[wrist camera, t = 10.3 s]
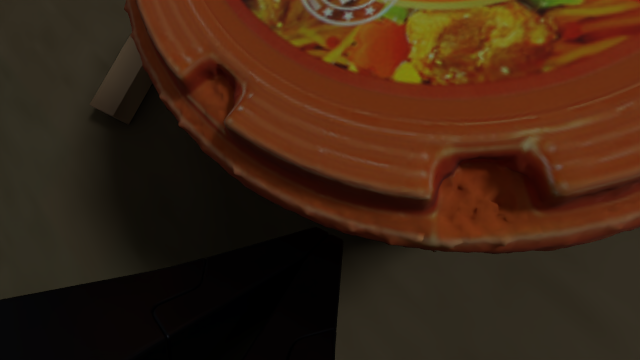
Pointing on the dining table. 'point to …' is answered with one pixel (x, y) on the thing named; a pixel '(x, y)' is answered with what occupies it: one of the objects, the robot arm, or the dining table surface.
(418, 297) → the dining table surface
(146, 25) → the food container
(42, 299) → the robot arm
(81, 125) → the dining table surface
